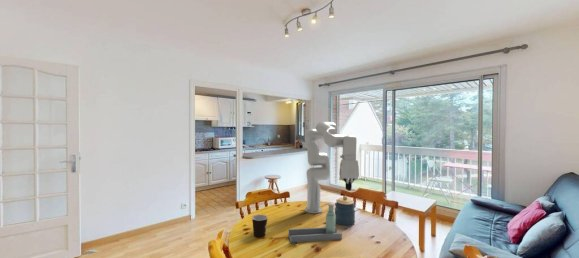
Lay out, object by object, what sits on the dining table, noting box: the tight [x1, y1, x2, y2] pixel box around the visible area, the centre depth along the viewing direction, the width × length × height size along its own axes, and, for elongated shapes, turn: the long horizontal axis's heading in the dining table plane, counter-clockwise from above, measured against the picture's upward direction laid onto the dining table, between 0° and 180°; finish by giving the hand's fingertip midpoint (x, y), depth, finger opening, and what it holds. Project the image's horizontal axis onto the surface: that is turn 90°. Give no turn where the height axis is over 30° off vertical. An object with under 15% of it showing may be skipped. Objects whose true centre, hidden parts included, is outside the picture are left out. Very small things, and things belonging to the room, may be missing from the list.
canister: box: [334, 195, 356, 227], centre depth 153 cm, size 13×13×18 cm
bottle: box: [325, 202, 336, 234], centre depth 132 cm, size 5×5×18 cm
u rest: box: [288, 226, 343, 245], centre depth 131 cm, size 9×28×4 cm, turn 100°
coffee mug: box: [251, 214, 268, 239], centre depth 135 cm, size 12×9×10 cm
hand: (348, 189), depth 134 cm, fingers closed
